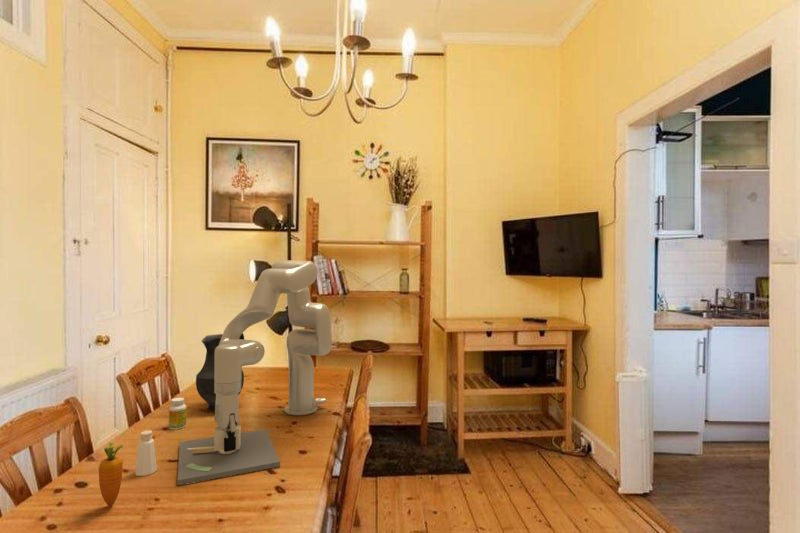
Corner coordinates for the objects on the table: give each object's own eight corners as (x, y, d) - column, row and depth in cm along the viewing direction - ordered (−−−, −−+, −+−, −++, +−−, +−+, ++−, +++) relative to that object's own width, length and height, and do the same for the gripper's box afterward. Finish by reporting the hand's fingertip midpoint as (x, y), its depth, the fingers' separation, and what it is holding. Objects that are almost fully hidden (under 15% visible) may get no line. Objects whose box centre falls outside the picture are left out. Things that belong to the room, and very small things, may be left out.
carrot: (105, 500, 106) (106, 439, 106) (127, 500, 107) (127, 439, 106) (93, 512, 101) (93, 448, 101) (115, 512, 102) (116, 447, 101)
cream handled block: (241, 446, 134) (241, 424, 134) (238, 453, 129) (239, 430, 129) (195, 449, 131) (195, 427, 131) (191, 457, 126) (191, 433, 126)
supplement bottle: (179, 430, 150) (179, 402, 150) (165, 429, 151) (165, 401, 151) (189, 424, 155) (189, 397, 155) (176, 423, 156) (176, 396, 156)
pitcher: (185, 411, 168) (186, 333, 167) (226, 396, 187) (226, 326, 187) (221, 418, 161) (221, 337, 161) (259, 401, 181) (259, 329, 180)
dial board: (265, 433, 148) (265, 428, 148) (280, 466, 125) (280, 461, 125) (179, 446, 137) (179, 441, 137) (177, 486, 114) (177, 479, 114)
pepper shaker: (141, 478, 117) (141, 437, 117) (130, 472, 120) (130, 432, 120) (161, 470, 122) (161, 430, 122) (150, 465, 125) (150, 426, 125)
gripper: (208, 381, 135) (207, 440, 136) (221, 395, 121) (221, 461, 122) (233, 378, 140) (233, 435, 140) (249, 391, 126) (248, 454, 126)
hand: (227, 446), depth 131 cm, fingers open, 4 cm apart
